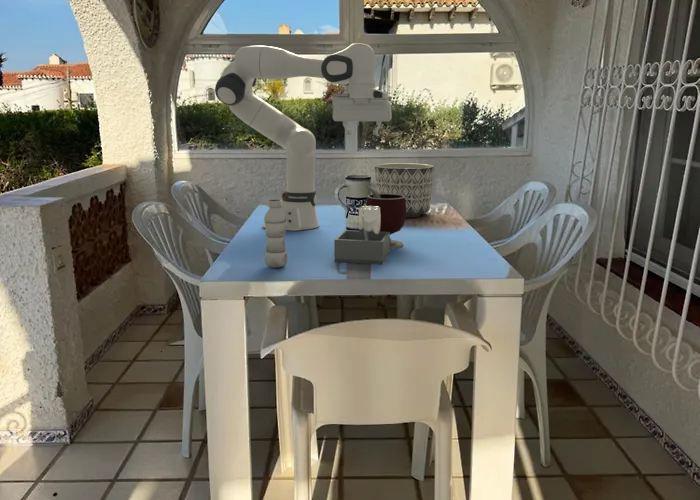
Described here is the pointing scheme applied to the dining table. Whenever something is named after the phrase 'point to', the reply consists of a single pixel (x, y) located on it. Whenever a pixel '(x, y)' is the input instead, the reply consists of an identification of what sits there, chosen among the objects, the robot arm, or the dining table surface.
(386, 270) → the dining table surface
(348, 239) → the bin
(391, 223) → the mate gourd
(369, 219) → the beer glass
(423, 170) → the planter
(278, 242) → the plastic bottle
